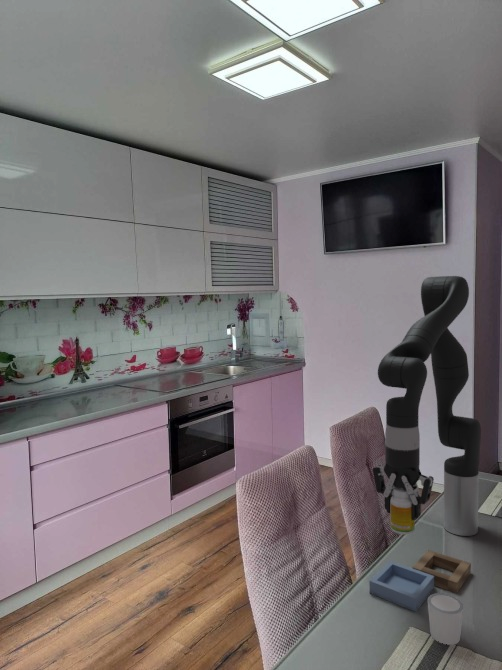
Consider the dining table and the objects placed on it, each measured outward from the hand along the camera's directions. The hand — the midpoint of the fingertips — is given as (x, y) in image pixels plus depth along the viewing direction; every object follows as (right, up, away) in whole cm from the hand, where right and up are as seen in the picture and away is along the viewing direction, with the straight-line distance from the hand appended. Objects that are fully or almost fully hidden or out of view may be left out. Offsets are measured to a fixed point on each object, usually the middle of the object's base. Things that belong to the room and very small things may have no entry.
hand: (402, 514), depth 115 cm
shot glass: (+5, -20, -14) cm, 24 cm away
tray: (0, -18, +1) cm, 18 cm away
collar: (+12, -17, +7) cm, 22 cm away
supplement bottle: (0, -4, 0) cm, 4 cm away
